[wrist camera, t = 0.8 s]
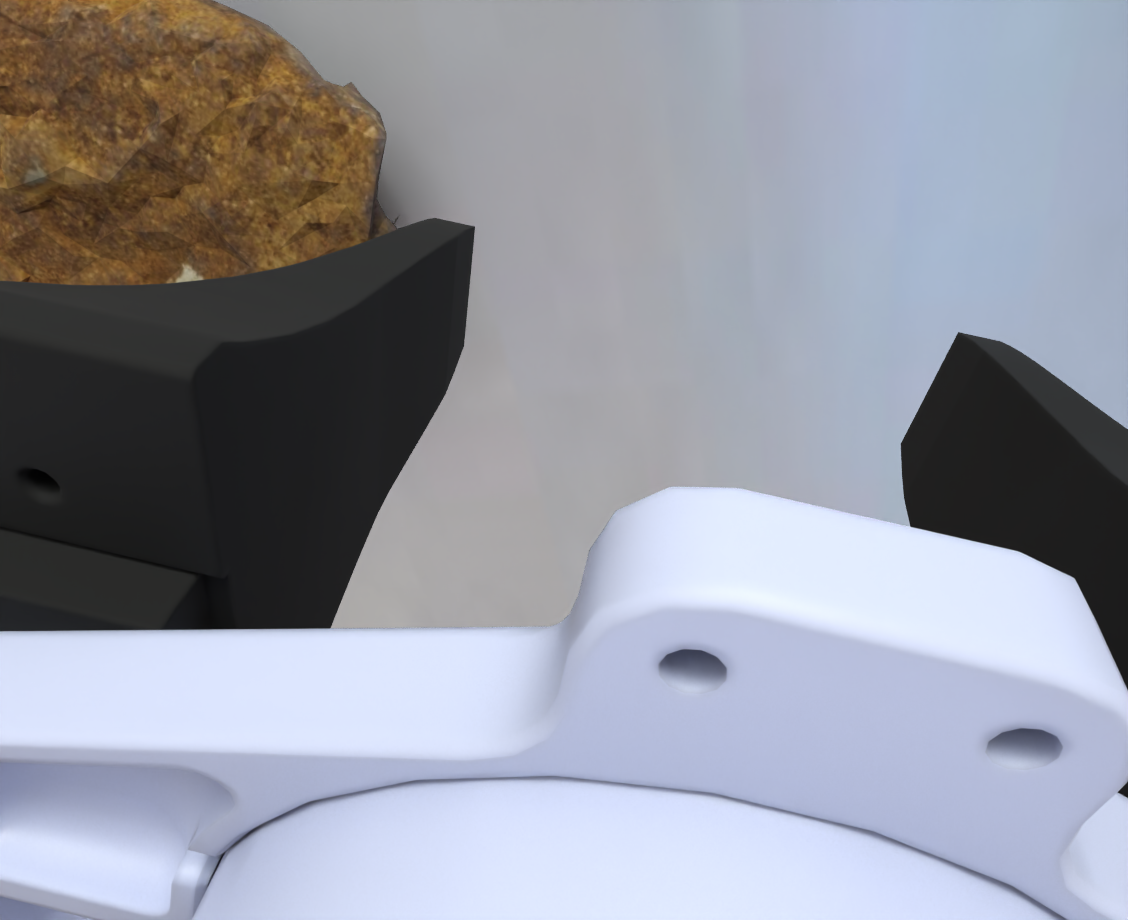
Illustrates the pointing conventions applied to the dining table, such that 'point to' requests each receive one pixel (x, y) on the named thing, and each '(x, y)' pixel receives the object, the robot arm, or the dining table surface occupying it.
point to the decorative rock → (173, 146)
